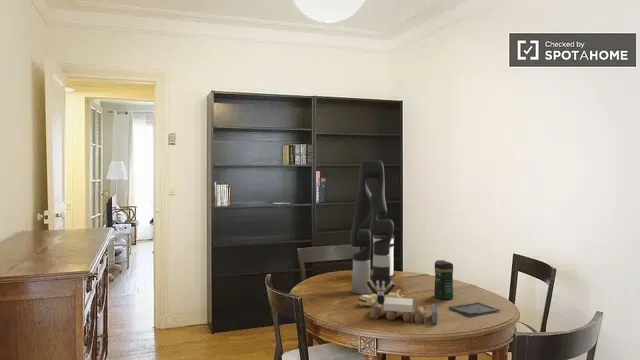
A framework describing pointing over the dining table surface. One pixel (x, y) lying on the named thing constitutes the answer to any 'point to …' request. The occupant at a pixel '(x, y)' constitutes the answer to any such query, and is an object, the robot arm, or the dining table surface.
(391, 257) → the coffee press
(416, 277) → the dining table surface
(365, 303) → the cat figure
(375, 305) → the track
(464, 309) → the picture frame
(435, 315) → the block
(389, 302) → the slab
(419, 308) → the roller
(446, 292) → the coffee jar
